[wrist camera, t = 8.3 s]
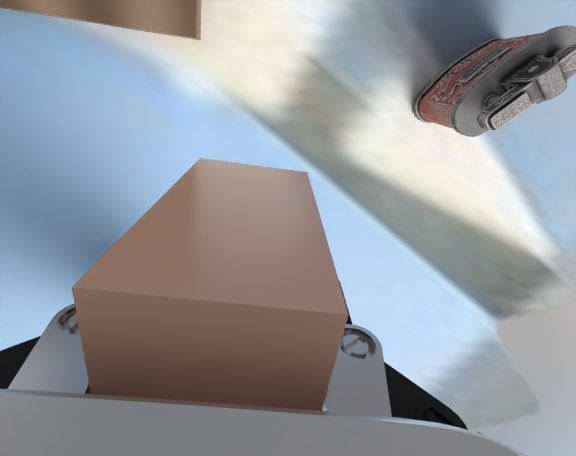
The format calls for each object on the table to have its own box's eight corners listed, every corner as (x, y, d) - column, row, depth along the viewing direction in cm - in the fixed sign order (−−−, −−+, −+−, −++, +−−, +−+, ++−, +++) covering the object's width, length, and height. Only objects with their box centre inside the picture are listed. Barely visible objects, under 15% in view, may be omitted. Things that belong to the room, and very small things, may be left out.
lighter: (493, 27, 25) (615, -1, 16) (511, 64, 26) (634, 58, 17) (404, 99, 27) (466, 112, 18) (424, 131, 28) (492, 157, 19)
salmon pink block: (307, 172, 12) (348, 314, 5) (282, 316, 15) (284, 539, 8) (200, 158, 12) (71, 287, 4) (196, 308, 15) (115, 533, 7)
